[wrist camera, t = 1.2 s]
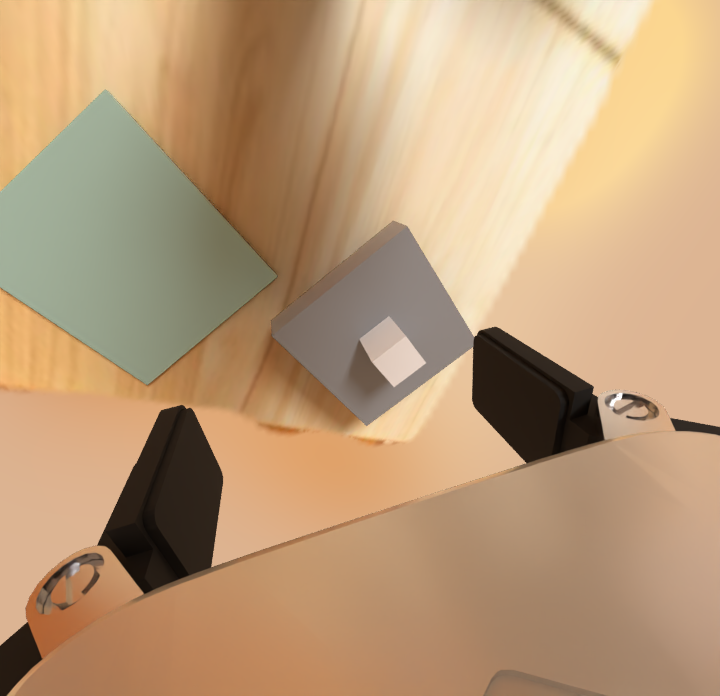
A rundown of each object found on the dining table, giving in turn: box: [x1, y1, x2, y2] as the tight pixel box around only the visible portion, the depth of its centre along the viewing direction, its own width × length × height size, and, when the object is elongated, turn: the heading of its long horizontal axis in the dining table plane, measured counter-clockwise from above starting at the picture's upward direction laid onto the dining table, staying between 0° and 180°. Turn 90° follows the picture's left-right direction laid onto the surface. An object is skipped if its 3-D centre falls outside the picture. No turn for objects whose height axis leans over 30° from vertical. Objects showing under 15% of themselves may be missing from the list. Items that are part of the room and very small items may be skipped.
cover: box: [271, 221, 474, 426], centre depth 36 cm, size 17×17×9 cm
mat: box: [0, 90, 277, 385], centre depth 33 cm, size 20×20×1 cm
